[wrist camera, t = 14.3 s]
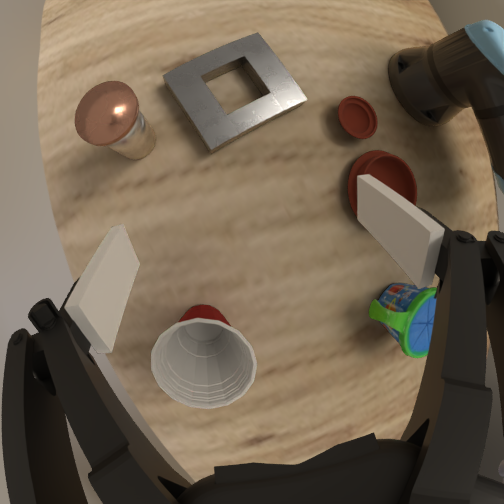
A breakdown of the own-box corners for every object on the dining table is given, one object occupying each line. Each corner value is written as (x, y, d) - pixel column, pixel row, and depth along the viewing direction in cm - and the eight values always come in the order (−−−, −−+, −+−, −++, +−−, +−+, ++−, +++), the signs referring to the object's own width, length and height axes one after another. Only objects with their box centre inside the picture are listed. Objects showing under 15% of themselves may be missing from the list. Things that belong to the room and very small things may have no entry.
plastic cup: (220, 270, 36) (227, 302, 25) (254, 336, 39) (274, 385, 27) (149, 305, 36) (128, 347, 24) (188, 366, 38) (185, 420, 26)
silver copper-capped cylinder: (146, 111, 31) (119, 69, 19) (168, 146, 33) (148, 116, 20) (108, 137, 31) (66, 108, 18) (129, 172, 32) (90, 157, 20)
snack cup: (430, 284, 43) (469, 300, 33) (408, 337, 44) (443, 361, 34) (370, 260, 40) (412, 277, 30) (345, 324, 41) (379, 354, 31)
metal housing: (254, 42, 31) (257, 32, 29) (299, 106, 34) (307, 99, 31) (165, 84, 31) (162, 75, 28) (210, 154, 34) (211, 149, 31)
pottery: (356, 242, 39) (372, 246, 35) (306, 111, 35) (318, 101, 30) (410, 213, 40) (428, 215, 36) (369, 96, 36) (384, 87, 31)
